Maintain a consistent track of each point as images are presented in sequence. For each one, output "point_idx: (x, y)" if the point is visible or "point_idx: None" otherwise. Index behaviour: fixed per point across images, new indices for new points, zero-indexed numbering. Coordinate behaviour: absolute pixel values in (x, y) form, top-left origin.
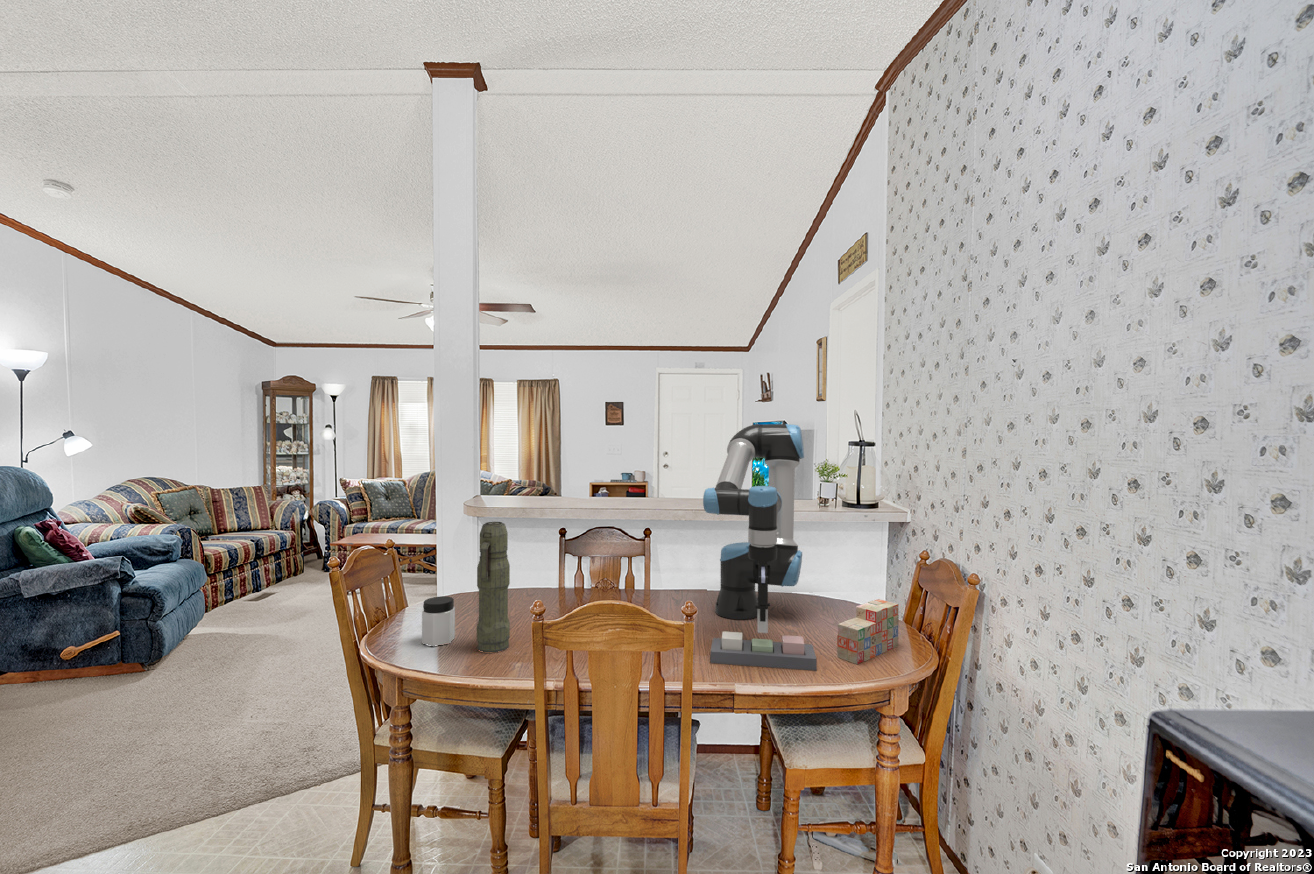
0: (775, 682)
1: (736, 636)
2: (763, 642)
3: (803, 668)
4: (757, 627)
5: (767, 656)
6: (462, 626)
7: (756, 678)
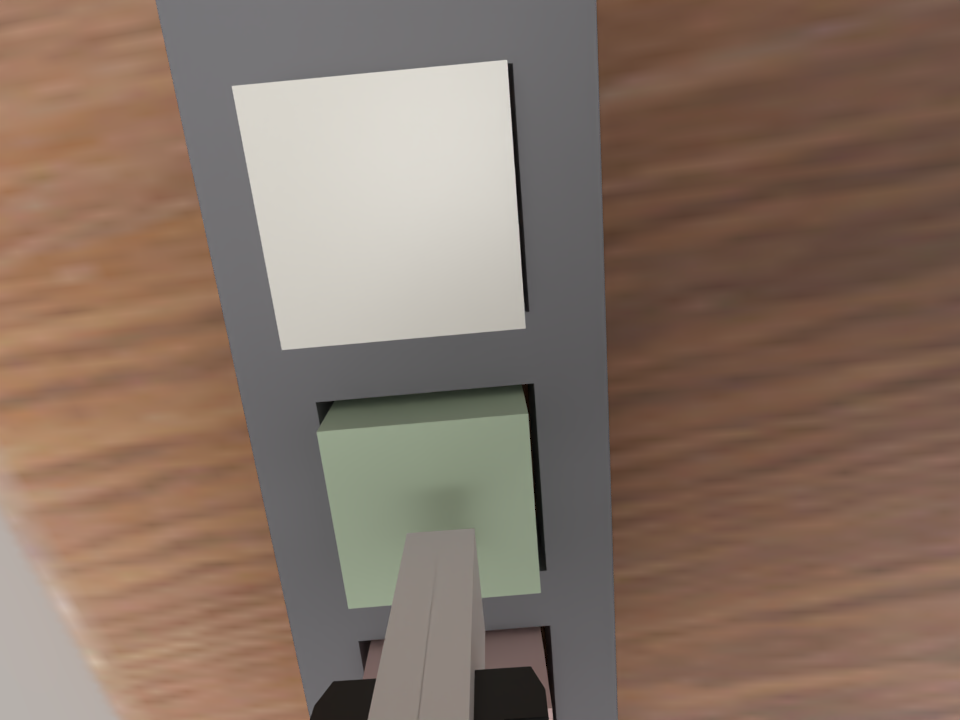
0: (61, 554)
1: (371, 271)
2: (443, 525)
3: None
4: (433, 561)
5: (274, 536)
6: None
7: (64, 432)
